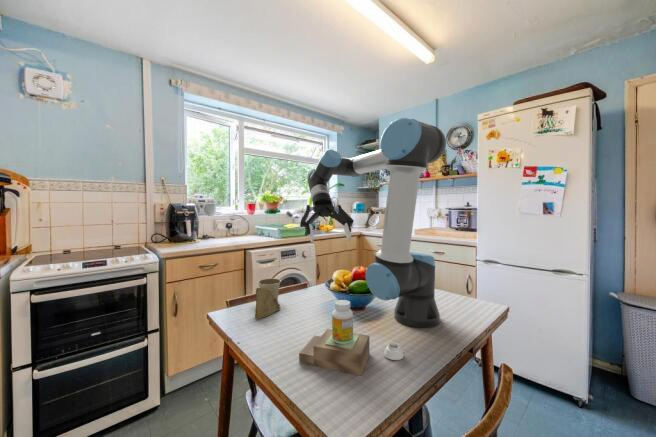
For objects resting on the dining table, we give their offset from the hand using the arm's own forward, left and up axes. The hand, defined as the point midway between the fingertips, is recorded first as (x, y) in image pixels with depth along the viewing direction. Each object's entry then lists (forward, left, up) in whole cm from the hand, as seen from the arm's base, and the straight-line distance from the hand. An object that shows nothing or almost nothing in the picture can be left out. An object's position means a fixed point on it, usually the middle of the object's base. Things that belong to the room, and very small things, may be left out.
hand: (331, 239), depth 97 cm
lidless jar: (-24, +19, -28) cm, 41 cm away
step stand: (-11, +25, -28) cm, 39 cm away
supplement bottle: (-12, +25, -23) cm, 36 cm away
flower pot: (+29, -6, -28) cm, 41 cm away
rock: (+23, +5, -28) cm, 37 cm away
